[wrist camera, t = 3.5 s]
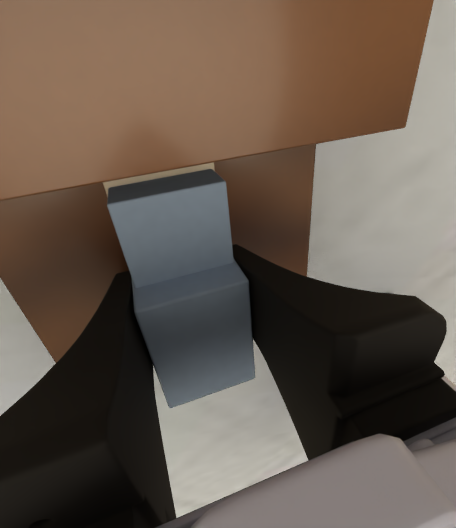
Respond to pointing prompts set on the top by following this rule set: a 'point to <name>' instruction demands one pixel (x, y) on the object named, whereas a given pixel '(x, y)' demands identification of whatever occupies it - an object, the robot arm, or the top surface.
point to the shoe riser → (179, 123)
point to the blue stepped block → (185, 279)
